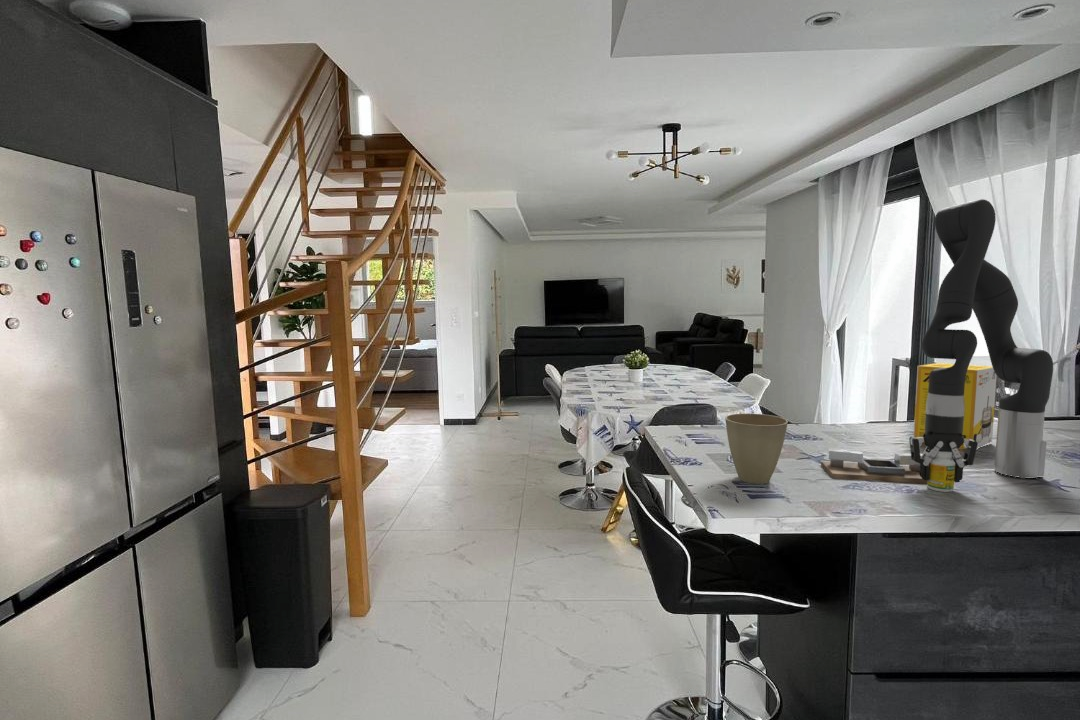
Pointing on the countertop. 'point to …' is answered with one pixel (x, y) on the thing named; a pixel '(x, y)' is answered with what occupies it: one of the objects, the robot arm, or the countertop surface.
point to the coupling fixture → (874, 462)
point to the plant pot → (755, 444)
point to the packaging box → (975, 398)
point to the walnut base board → (858, 473)
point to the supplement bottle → (941, 472)
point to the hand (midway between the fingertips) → (940, 480)
